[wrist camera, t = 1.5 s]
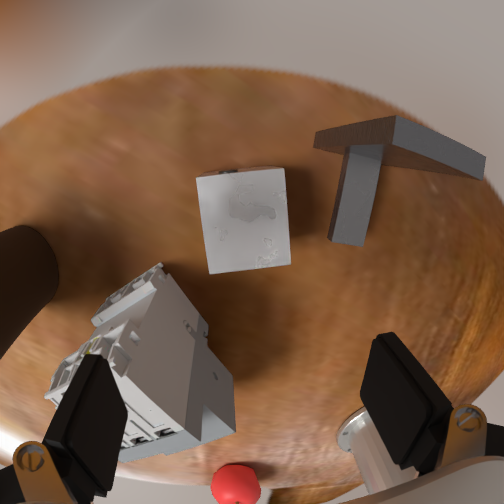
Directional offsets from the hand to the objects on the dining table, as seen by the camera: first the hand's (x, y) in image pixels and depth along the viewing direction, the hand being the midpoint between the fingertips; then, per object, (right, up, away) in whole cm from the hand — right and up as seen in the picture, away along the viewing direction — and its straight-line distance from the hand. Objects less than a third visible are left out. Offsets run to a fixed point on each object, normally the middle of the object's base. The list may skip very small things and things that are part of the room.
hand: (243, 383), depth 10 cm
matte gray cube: (-1, +8, +18) cm, 20 cm away
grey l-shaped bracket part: (+9, +10, +18) cm, 22 cm away
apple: (-3, -31, +30) cm, 43 cm away
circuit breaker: (-8, -4, +21) cm, 23 cm away
